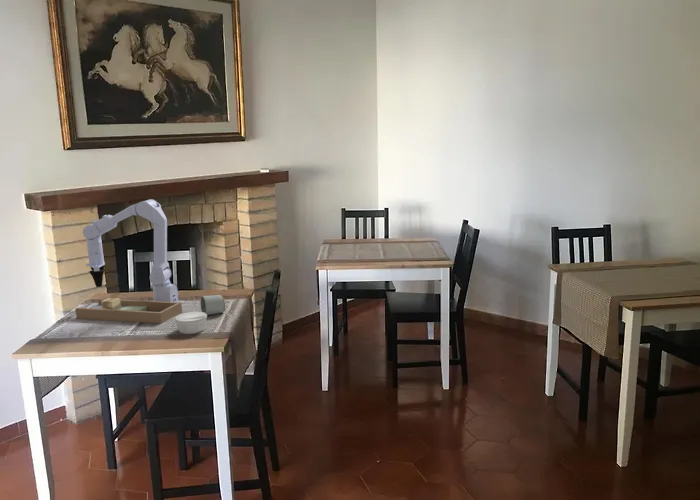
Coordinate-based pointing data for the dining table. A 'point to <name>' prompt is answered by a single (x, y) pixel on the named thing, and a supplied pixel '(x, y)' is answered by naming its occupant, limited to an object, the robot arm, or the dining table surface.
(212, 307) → the ceramic mug
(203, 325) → the ramekin
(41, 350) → the dining table surface
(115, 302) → the wood block
